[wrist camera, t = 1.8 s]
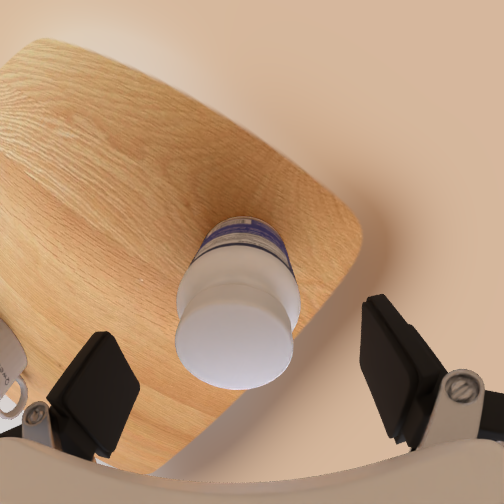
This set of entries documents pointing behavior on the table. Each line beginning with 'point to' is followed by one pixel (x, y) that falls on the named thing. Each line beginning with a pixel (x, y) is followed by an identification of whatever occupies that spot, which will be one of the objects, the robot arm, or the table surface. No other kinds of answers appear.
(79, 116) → the table surface
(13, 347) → the mug
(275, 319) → the pill bottle
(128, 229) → the table surface
